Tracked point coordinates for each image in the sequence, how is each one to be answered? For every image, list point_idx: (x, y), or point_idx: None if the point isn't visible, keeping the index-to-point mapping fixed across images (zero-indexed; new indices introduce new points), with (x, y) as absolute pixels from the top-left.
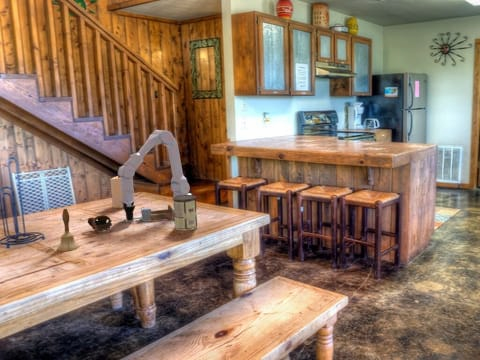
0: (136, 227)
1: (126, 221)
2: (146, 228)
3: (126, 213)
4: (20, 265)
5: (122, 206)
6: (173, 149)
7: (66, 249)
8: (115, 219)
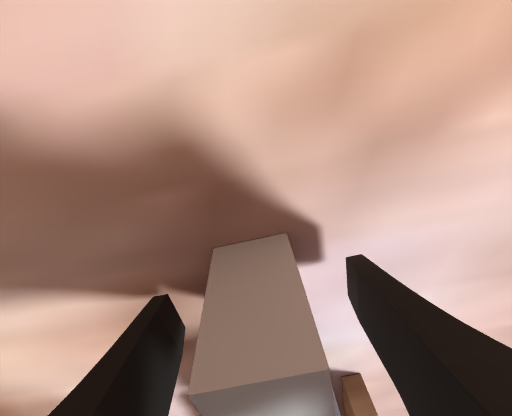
0: (28, 353)
1: (213, 253)
2: (19, 405)
3: (68, 403)
4: None
5: None
6: None
7: None
8: (397, 75)
